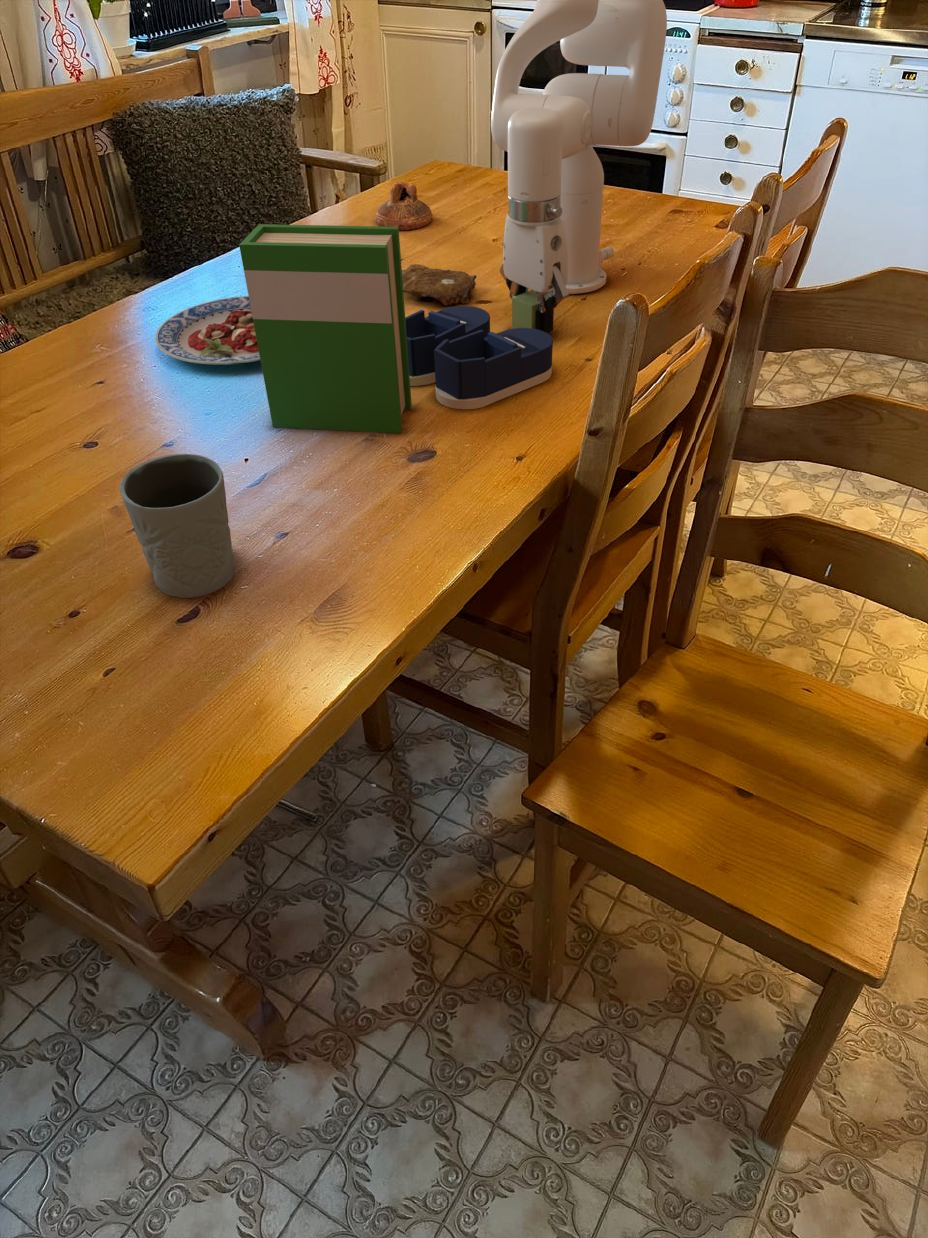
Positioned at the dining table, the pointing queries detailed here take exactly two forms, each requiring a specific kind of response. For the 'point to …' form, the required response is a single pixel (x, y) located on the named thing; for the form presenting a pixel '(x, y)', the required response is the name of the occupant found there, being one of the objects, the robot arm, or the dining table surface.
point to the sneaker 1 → (438, 336)
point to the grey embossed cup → (181, 522)
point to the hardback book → (330, 325)
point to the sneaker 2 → (491, 366)
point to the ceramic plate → (211, 333)
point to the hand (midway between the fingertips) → (532, 327)
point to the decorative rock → (438, 284)
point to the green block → (525, 310)
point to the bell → (403, 208)
